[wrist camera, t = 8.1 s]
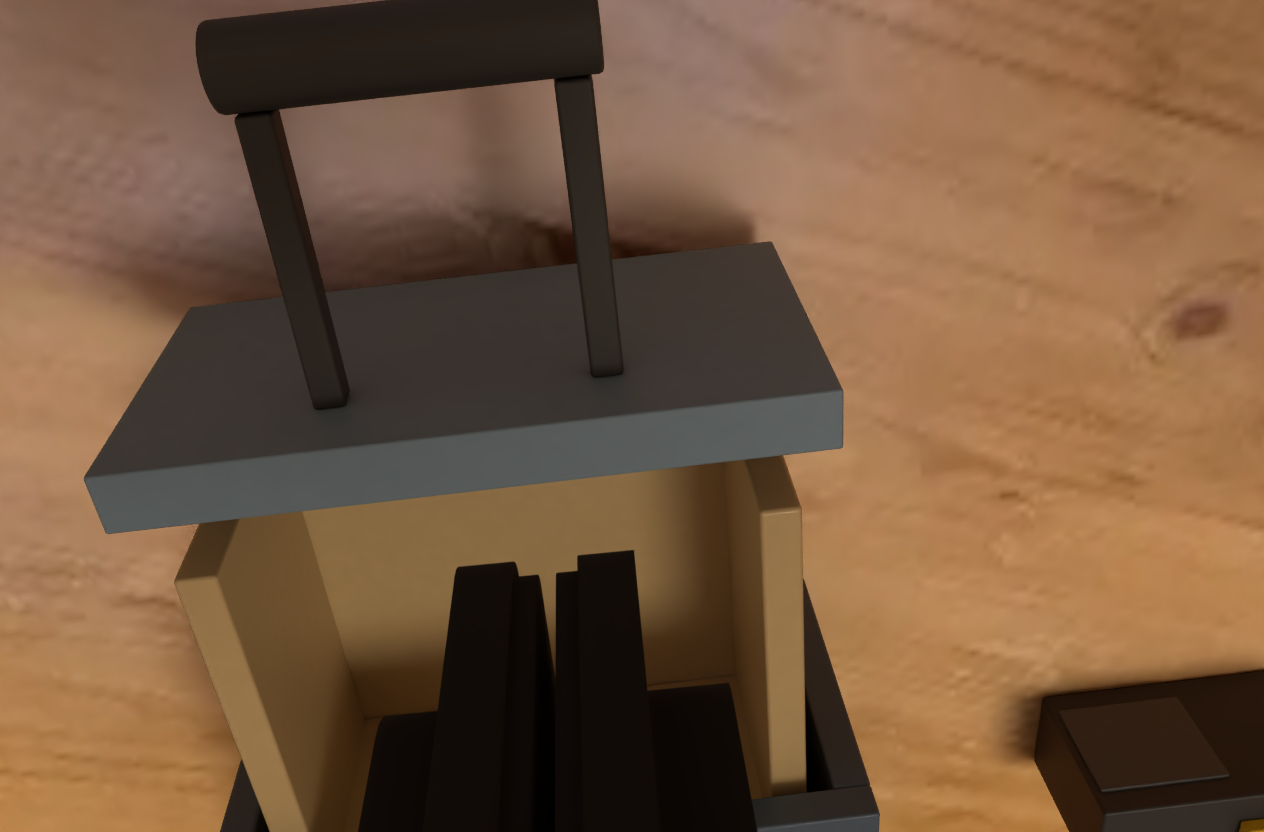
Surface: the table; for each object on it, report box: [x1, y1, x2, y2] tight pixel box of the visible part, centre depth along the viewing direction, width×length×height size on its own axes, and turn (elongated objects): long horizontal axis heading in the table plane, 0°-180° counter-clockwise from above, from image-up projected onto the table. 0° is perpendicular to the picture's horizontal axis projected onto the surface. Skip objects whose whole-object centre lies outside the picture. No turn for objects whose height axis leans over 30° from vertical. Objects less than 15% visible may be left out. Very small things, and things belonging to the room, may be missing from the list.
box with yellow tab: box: [1035, 671, 1264, 832], centre depth 33 cm, size 3×8×5 cm, turn 95°
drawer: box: [84, 0, 843, 832], centre depth 23 cm, size 19×13×7 cm
